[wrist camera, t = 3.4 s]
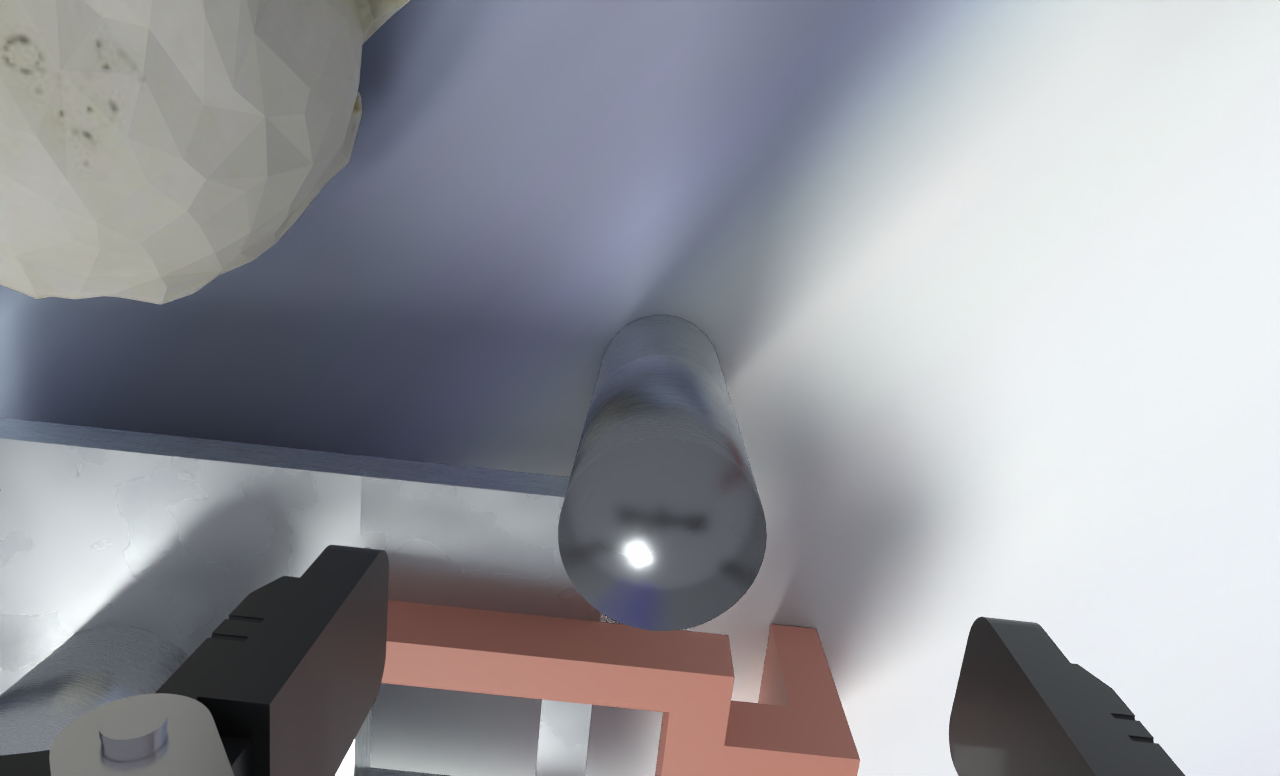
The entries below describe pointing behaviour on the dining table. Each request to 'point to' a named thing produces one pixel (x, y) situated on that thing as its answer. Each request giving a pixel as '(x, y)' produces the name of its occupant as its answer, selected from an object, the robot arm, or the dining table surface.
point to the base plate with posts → (241, 560)
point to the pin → (661, 485)
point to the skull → (168, 135)
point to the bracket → (640, 683)
